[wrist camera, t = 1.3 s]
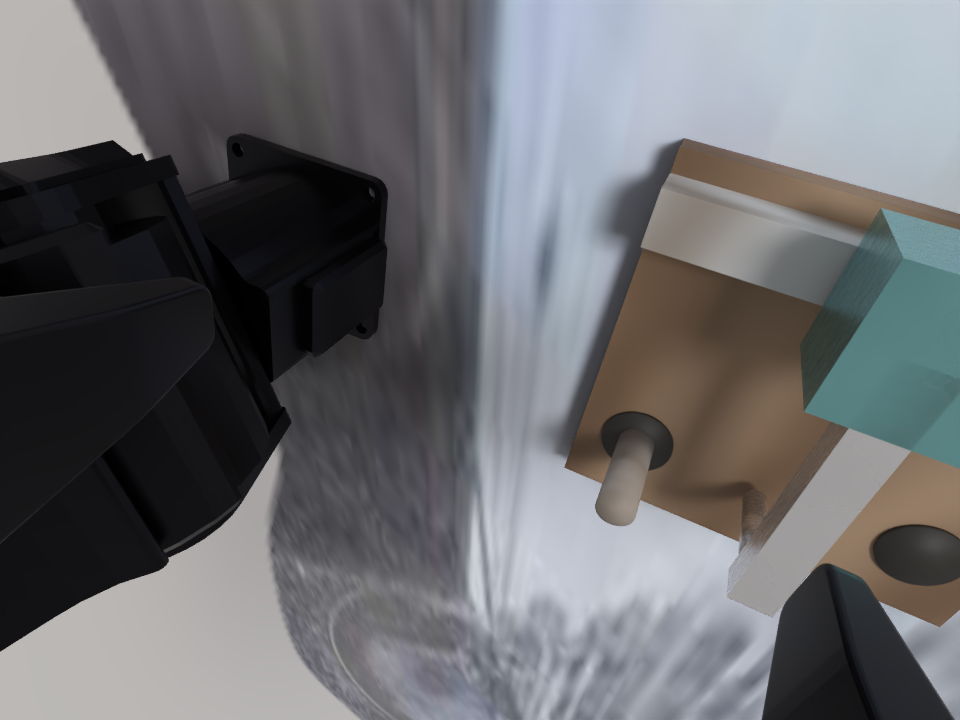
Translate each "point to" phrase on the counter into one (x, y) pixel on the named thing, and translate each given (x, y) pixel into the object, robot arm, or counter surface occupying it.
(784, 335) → the plate
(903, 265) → the leg
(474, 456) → the counter surface
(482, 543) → the counter surface
